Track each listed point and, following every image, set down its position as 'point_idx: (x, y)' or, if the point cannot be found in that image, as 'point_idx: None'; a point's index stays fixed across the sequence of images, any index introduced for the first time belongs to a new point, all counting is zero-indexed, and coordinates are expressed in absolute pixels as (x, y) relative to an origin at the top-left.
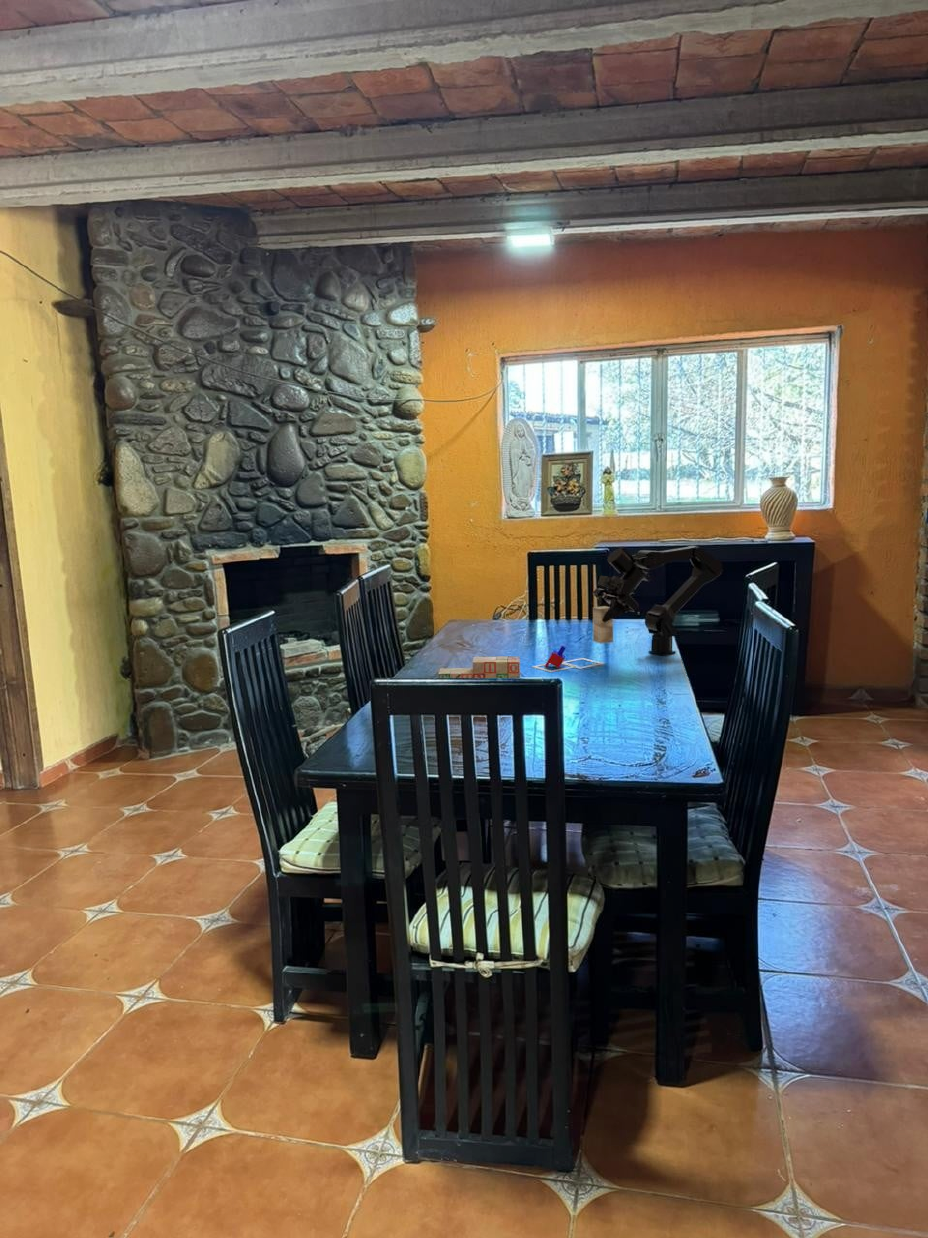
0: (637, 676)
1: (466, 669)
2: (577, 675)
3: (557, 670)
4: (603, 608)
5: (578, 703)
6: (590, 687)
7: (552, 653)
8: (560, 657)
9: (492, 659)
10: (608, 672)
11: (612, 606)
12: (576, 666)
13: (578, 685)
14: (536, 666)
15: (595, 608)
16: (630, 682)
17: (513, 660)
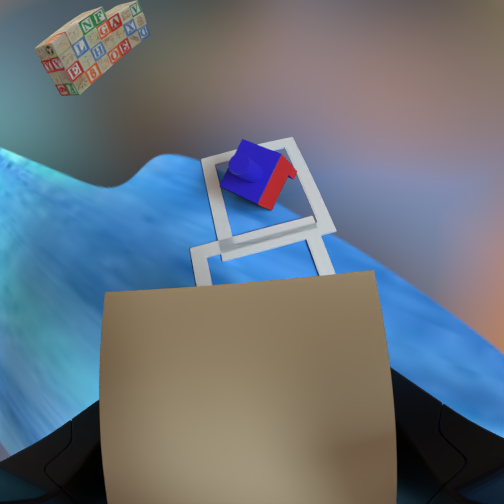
0: (32, 361)
1: (109, 16)
2: (128, 212)
3: (206, 178)
4: (135, 384)
5: (12, 159)
6: (39, 202)
7: (242, 142)
8: (226, 172)
9: (71, 23)
10: (102, 315)
11: (16, 470)
12: (224, 250)
13: (64, 185)
14: (287, 146)
15: (275, 284)
16: (10, 304)
17: (45, 41)
